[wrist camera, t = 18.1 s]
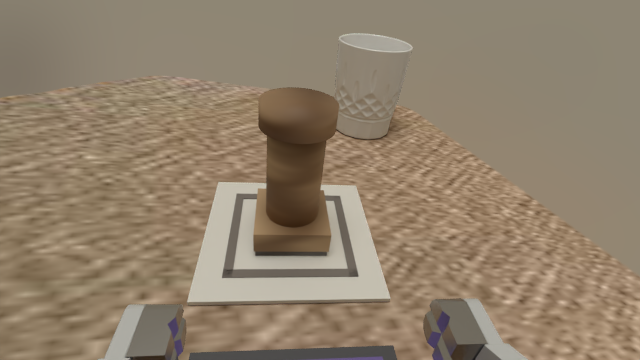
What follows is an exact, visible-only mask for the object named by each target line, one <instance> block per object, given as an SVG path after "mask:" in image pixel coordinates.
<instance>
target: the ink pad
mask: <svg viewBox="0 0 640 360" xmlns="http://www.w3.org/2000/svg"><path fill="white" fill-rule="evenodd" d="M189 360H397V358H396V354H395V350H394V347H393V346H367V347H340V348H312V349H284V350H256V351H229V352H201V353H190V357H189Z"/></svg>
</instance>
